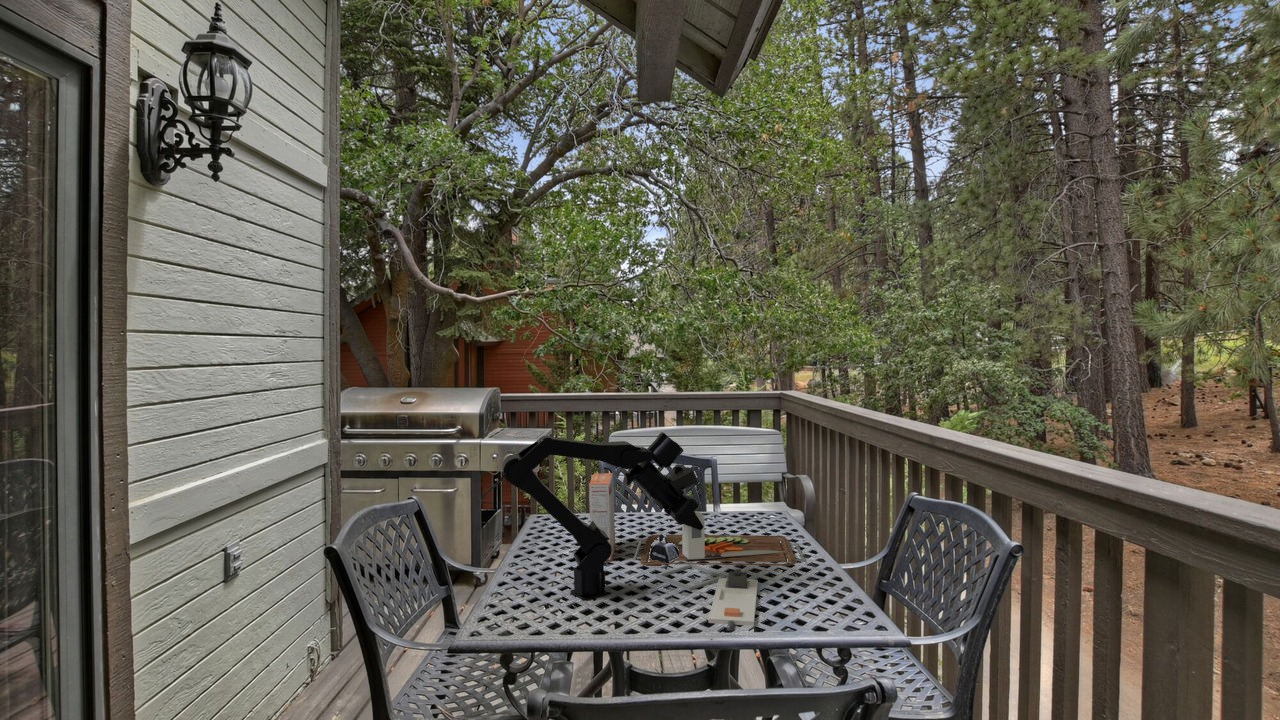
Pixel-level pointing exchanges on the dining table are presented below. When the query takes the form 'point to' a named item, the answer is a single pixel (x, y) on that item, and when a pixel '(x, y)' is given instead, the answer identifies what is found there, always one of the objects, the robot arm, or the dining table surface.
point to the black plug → (737, 579)
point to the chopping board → (731, 550)
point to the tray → (663, 574)
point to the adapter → (693, 540)
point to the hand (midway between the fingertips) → (698, 526)
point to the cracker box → (603, 505)
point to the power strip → (734, 604)
